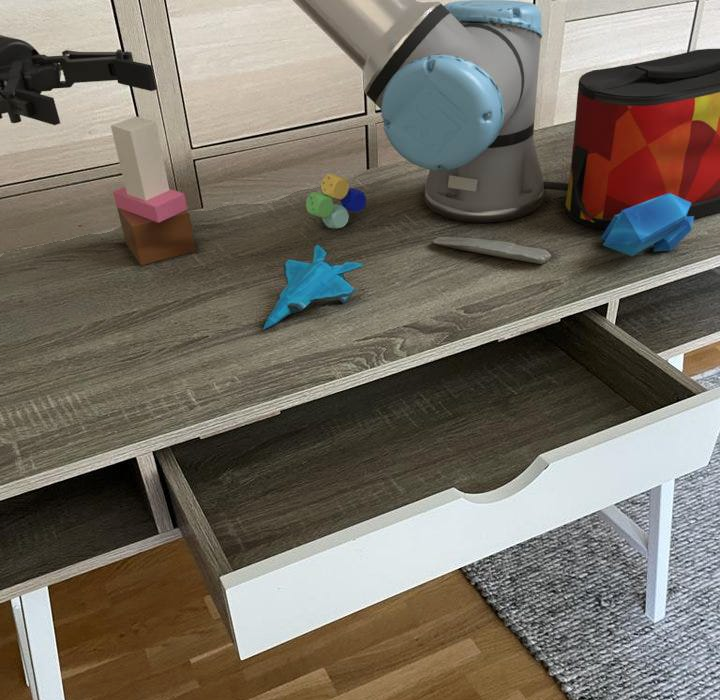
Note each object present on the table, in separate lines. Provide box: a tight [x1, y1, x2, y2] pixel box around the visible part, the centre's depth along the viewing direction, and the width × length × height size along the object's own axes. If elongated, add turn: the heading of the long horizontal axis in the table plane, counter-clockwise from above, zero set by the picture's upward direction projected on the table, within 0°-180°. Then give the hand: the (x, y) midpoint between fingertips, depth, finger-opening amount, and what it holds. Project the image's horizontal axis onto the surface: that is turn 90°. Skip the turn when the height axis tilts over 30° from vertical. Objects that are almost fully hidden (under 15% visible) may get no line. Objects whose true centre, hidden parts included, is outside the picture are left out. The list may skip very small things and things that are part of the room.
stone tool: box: [432, 236, 552, 265], centre depth 101 cm, size 14×1×5 cm
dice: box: [305, 173, 367, 230], centre depth 107 cm, size 8×3×6 cm, turn 127°
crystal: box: [600, 193, 694, 257], centre depth 97 cm, size 7×9×12 cm
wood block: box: [116, 207, 197, 266], centre depth 105 cm, size 7×7×5 cm
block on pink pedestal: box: [110, 115, 188, 223], centre depth 101 cm, size 8×4×10 cm, turn 49°
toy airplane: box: [262, 243, 365, 330], centre depth 93 cm, size 12×10×4 cm
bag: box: [564, 48, 720, 230], centre depth 104 cm, size 30×14×16 cm, turn 114°
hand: (105, 94), depth 98 cm, fingers open, 13 cm apart
